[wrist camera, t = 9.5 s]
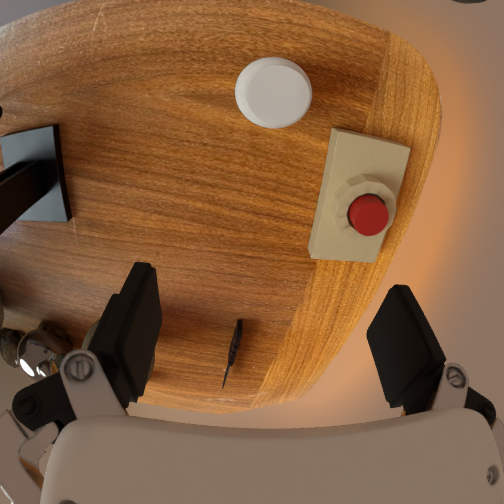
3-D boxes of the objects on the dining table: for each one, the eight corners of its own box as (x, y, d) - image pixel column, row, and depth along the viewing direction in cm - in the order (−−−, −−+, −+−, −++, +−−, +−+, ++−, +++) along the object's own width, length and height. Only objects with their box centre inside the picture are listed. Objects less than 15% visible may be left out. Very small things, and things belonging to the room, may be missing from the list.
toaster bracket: (5, 134, 23) (-66, 174, 12) (58, 123, 23) (-23, 162, 13) (21, 216, 29) (-34, 271, 19) (72, 217, 30) (15, 283, 19)
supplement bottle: (242, 120, 25) (237, 141, 17) (234, 66, 22) (225, 57, 13) (299, 114, 24) (325, 133, 16) (294, 60, 21) (317, 50, 13)
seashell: (10, 350, 50) (-3, 365, 43) (-3, 321, 47) (-19, 336, 40) (49, 361, 49) (35, 380, 43) (34, 329, 46) (17, 347, 39)
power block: (331, 127, 25) (344, 135, 22) (401, 142, 25) (419, 153, 22) (307, 247, 33) (313, 268, 29) (368, 252, 33) (379, 272, 30)
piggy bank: (97, 359, 48) (80, 407, 38) (42, 344, 47) (23, 385, 37) (80, 323, 41) (55, 376, 32) (22, 308, 40) (-4, 352, 31)
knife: (225, 377, 49) (224, 391, 46) (220, 376, 49) (219, 390, 46) (243, 319, 40) (243, 335, 37) (237, 318, 39) (236, 334, 37)
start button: (353, 192, 25) (359, 199, 23) (386, 197, 25) (393, 205, 24) (344, 225, 27) (350, 234, 25) (376, 229, 27) (382, 238, 26)
